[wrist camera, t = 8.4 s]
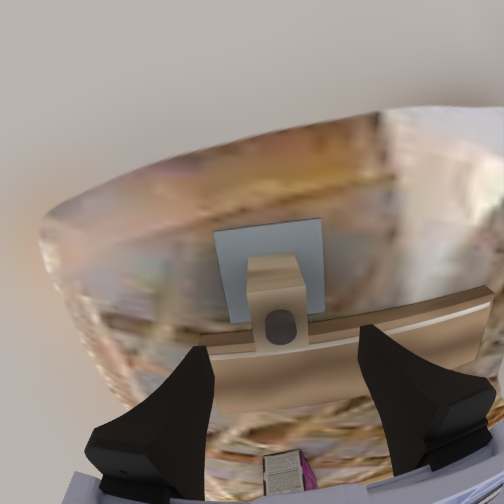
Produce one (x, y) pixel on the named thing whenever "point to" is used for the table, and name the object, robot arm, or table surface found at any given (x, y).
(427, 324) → the walnut board
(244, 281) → the slate mat
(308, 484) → the candy bar box
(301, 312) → the block
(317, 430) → the table surface
